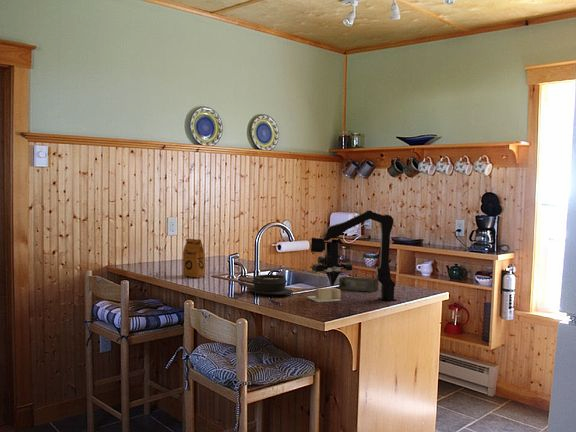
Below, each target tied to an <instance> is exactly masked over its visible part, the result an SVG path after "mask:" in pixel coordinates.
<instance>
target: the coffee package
mask: <svg viewBox="0 0 576 432" xmlns="http://www.w3.org/2000/svg"><path fill="white" fill-rule="evenodd" d="M205 254H206V253H205V250H204V247H203V243H202V240H201V239H194V238H185V244H184V248H183V251H182V277H187V276H190V277H189V278H192V277H202V276H205V277H206V257H205Z"/></svg>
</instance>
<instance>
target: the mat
mask: <svg viewBox="0 0 576 432" xmlns="http://www.w3.org/2000/svg"><path fill="white" fill-rule="evenodd" d="M306 298H307V299H310V300H312V301H314V302H316V303H326V302H327V303H329V302H342V299H326V300H320V299H318V298H316V295H312V296H307V297H306Z"/></svg>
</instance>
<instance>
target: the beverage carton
mask: <svg viewBox="0 0 576 432" xmlns="http://www.w3.org/2000/svg"><path fill="white" fill-rule="evenodd" d="M338 279H339V281H338V282H339V283H338V289H339V290H347V291H357V292H358V291H359V292H367V293H368V292H369V293H374V292H377V291H379V280H378V279H377V277H372V276H371V277H361V276H360V277H357V276H347V275H346V276H341V277H339V278H338Z"/></svg>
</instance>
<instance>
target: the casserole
mask: <svg viewBox="0 0 576 432" xmlns="http://www.w3.org/2000/svg"><path fill="white" fill-rule="evenodd" d="M287 283H288V282H287V279H286V277H285V276H284V275H281V274H280V275H279V274H259V275H255V276H254V278H253V279H252V284H253V286H248V287H246V290H247V291H251V292H252V293H255V294H257V295H259V296H269V297H272V296H273V297H274V296H279V295H280V296H281V295H289V294H292V293H294V290H293V289H289V288H287V287H286V284H287Z"/></svg>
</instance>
